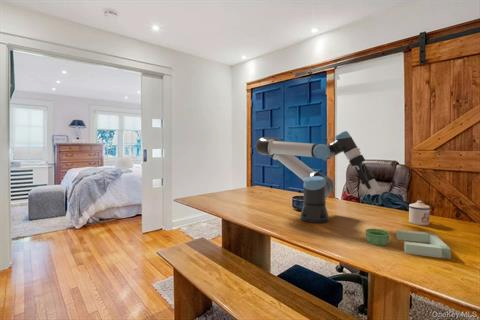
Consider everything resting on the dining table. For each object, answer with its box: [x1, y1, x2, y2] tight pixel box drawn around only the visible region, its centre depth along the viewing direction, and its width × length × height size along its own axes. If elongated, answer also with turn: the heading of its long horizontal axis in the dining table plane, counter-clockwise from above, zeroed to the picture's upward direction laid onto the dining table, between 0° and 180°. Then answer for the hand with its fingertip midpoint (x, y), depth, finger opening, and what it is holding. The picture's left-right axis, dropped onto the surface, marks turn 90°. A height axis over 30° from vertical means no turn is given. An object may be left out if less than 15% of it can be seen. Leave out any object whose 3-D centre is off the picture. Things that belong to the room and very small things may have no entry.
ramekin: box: [364, 228, 391, 246], centre depth 105 cm, size 9×9×4 cm
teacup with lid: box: [408, 200, 431, 226], centre depth 131 cm, size 12×9×12 cm
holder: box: [396, 229, 452, 260], centre depth 99 cm, size 14×18×4 cm
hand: (376, 192), depth 132 cm, fingers open, 13 cm apart
